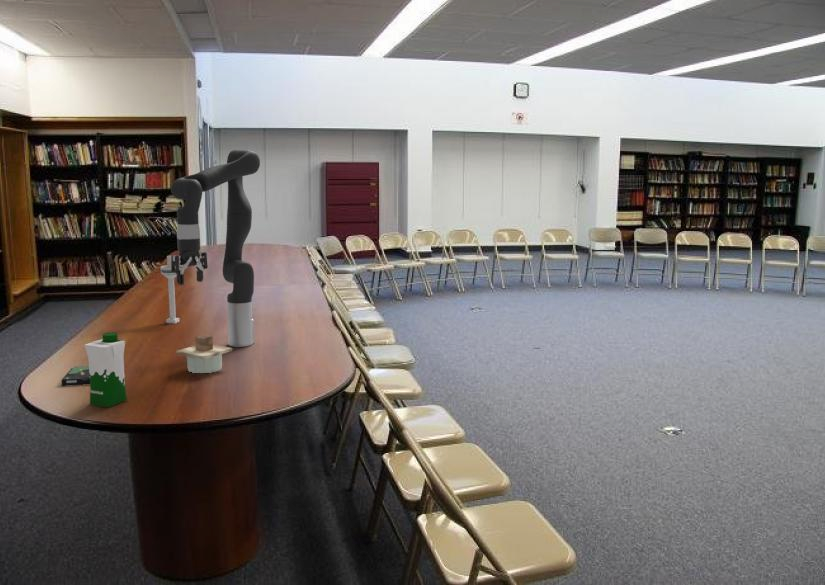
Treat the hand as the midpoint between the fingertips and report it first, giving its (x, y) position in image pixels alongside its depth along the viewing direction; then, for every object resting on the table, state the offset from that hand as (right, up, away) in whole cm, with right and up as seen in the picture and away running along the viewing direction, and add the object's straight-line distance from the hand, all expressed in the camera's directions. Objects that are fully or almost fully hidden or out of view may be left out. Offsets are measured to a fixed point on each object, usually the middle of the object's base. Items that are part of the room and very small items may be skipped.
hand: (190, 283), depth 234 cm
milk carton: (-10, -36, -41) cm, 55 cm away
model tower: (-29, -17, +65) cm, 73 cm away
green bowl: (+7, -30, -6) cm, 31 cm away
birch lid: (+7, -24, -7) cm, 26 cm away
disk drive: (-28, -32, -18) cm, 46 cm away
